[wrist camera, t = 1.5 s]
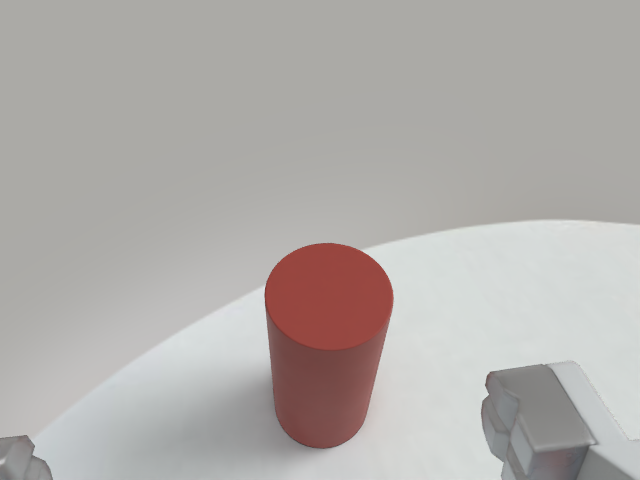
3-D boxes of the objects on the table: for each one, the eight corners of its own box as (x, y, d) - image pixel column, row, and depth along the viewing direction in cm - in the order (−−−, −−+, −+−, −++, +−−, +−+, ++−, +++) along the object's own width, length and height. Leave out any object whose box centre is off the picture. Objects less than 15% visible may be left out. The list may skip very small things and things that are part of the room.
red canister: (275, 451, 26) (264, 353, 18) (274, 361, 29) (264, 244, 21) (373, 445, 26) (403, 347, 18) (361, 356, 29) (383, 240, 21)
